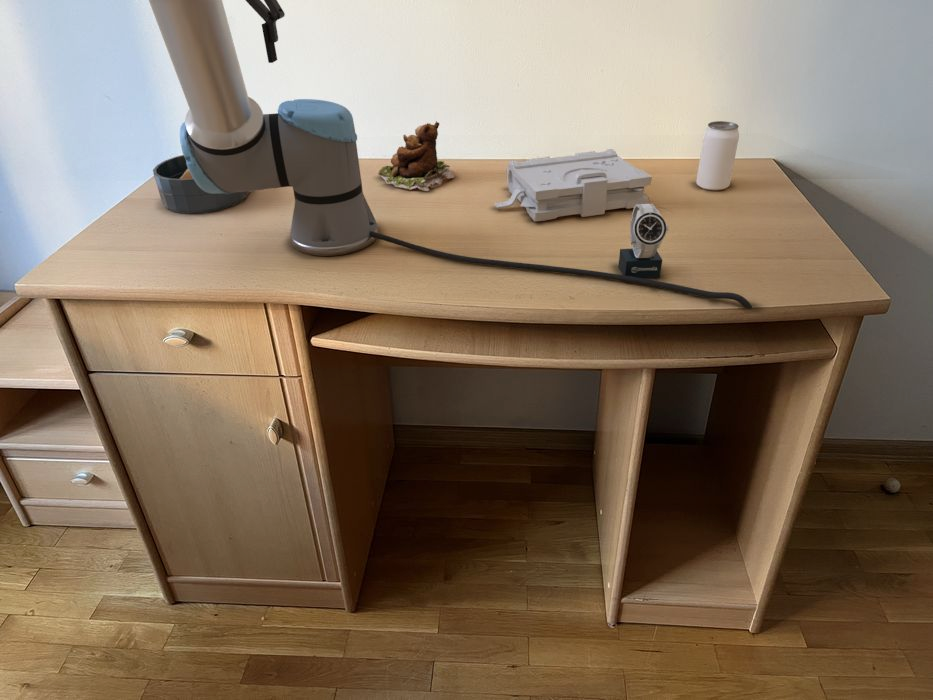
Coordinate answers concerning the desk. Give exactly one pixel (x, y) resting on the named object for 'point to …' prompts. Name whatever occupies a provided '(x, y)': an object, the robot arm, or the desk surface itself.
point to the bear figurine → (417, 162)
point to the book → (575, 185)
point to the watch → (644, 243)
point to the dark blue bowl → (188, 190)
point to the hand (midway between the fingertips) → (238, 62)
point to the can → (717, 155)
